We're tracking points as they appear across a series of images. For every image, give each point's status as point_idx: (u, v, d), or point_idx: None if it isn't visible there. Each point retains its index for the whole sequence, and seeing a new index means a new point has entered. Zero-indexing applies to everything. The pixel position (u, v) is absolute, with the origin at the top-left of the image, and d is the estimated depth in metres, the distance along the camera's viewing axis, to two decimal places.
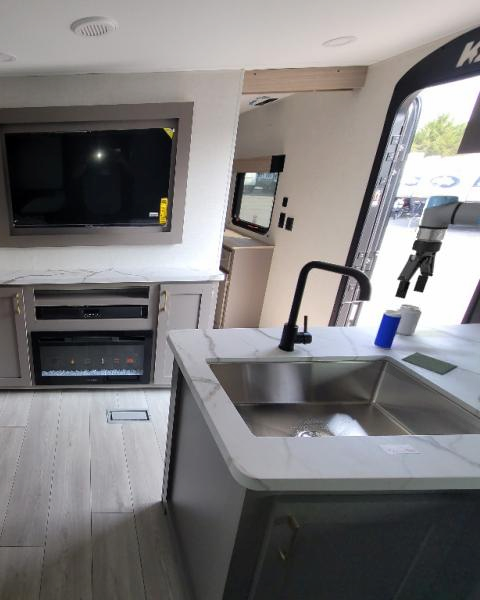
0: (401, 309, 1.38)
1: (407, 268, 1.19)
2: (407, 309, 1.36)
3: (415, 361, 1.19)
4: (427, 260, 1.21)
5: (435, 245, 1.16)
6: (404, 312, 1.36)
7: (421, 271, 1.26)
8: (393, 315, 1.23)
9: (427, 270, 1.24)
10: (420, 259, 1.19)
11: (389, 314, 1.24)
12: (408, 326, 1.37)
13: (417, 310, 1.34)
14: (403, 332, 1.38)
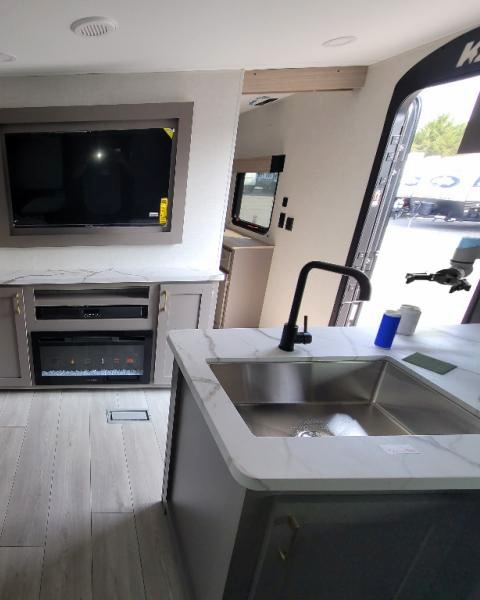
0: (401, 309, 1.38)
1: None
2: (407, 309, 1.36)
3: (415, 361, 1.19)
4: (447, 277, 1.41)
5: (443, 268, 1.46)
6: (404, 312, 1.36)
7: None
8: (393, 315, 1.23)
9: (456, 282, 1.36)
10: None
11: (389, 314, 1.24)
12: (408, 326, 1.37)
13: (417, 310, 1.34)
14: (403, 332, 1.38)
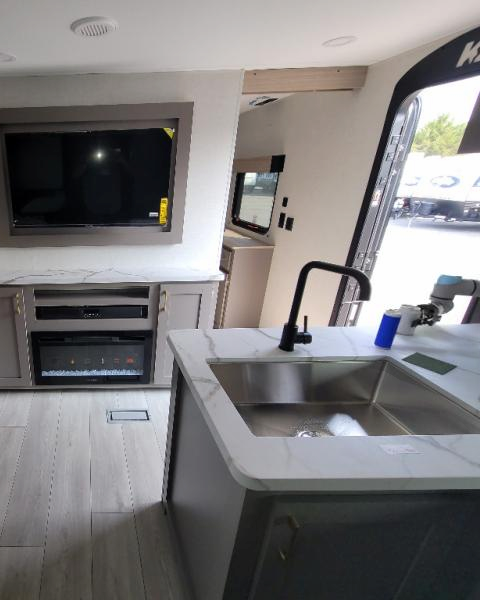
0: (401, 309, 1.38)
1: None
2: (407, 309, 1.36)
3: (415, 361, 1.19)
4: None
5: (421, 303, 1.46)
6: (404, 312, 1.36)
7: None
8: (393, 315, 1.23)
9: (423, 316, 1.38)
10: None
11: (389, 314, 1.24)
12: (408, 326, 1.37)
13: (417, 310, 1.34)
14: (403, 332, 1.38)
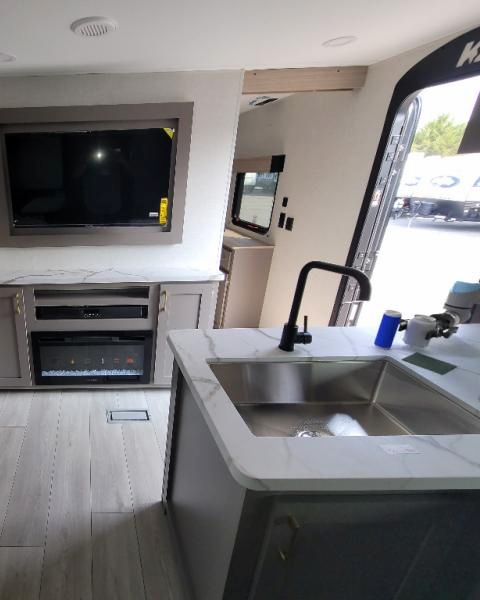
0: (414, 320, 1.26)
1: None
2: (421, 320, 1.24)
3: (415, 361, 1.19)
4: None
5: (435, 312, 1.35)
6: (417, 323, 1.25)
7: None
8: (393, 315, 1.23)
9: (438, 328, 1.26)
10: None
11: (389, 314, 1.24)
12: (422, 338, 1.25)
13: (432, 321, 1.23)
14: (416, 345, 1.27)
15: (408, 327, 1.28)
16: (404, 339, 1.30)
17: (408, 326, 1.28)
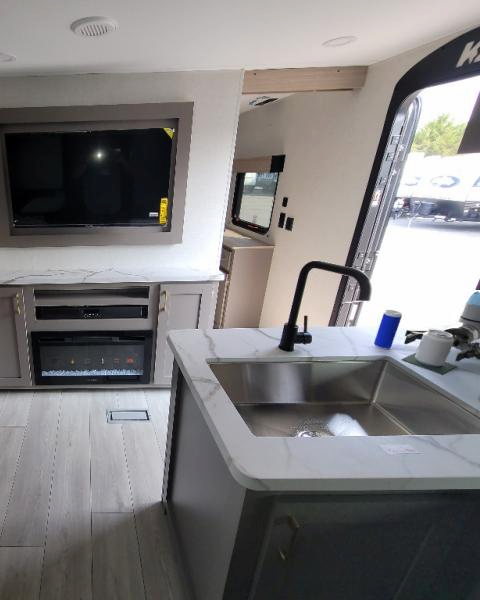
0: (429, 336, 1.15)
1: None
2: (436, 336, 1.13)
3: (415, 361, 1.19)
4: (455, 338, 1.18)
5: (451, 326, 1.23)
6: (433, 340, 1.13)
7: None
8: (393, 315, 1.23)
9: (465, 346, 1.13)
10: None
11: (389, 314, 1.24)
12: (438, 356, 1.14)
13: (449, 338, 1.11)
14: (431, 363, 1.15)
15: (422, 343, 1.17)
16: (417, 356, 1.18)
17: (422, 342, 1.17)
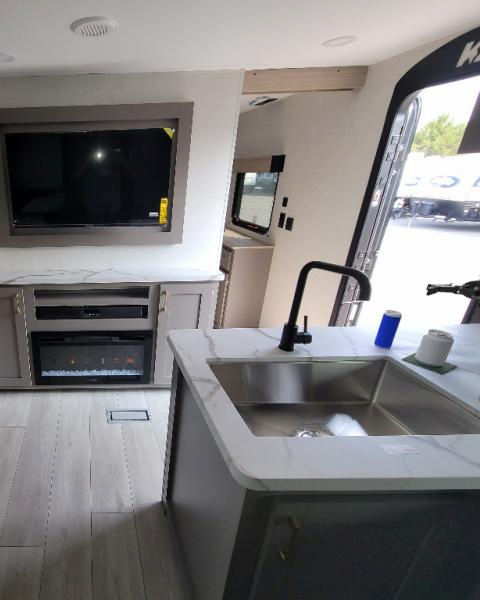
0: (429, 336, 1.15)
1: None
2: (437, 336, 1.13)
3: (415, 361, 1.19)
4: (476, 289, 1.22)
5: (472, 280, 1.27)
6: (433, 340, 1.13)
7: None
8: (393, 315, 1.23)
9: None
10: None
11: (389, 314, 1.24)
12: (438, 356, 1.14)
13: (449, 338, 1.11)
14: (431, 363, 1.15)
15: (422, 343, 1.17)
16: (417, 356, 1.18)
17: (422, 342, 1.17)
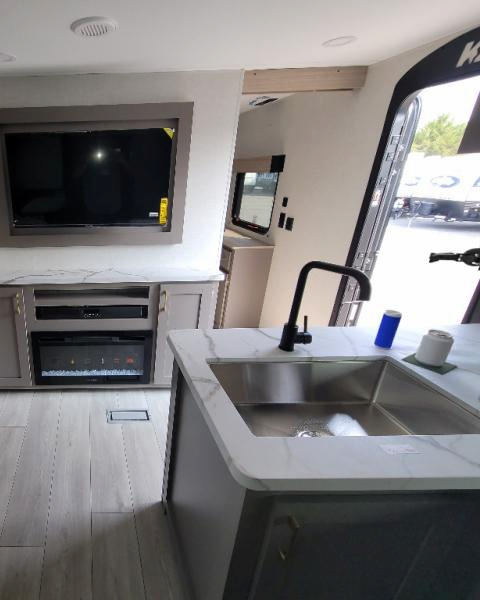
0: (429, 336, 1.15)
1: None
2: (437, 336, 1.13)
3: (415, 361, 1.19)
4: (477, 256, 1.28)
5: (472, 248, 1.33)
6: (433, 340, 1.13)
7: None
8: (393, 315, 1.23)
9: None
10: None
11: (389, 314, 1.24)
12: (438, 356, 1.14)
13: (449, 338, 1.11)
14: (431, 363, 1.15)
15: (422, 343, 1.17)
16: (417, 356, 1.18)
17: (422, 342, 1.17)
